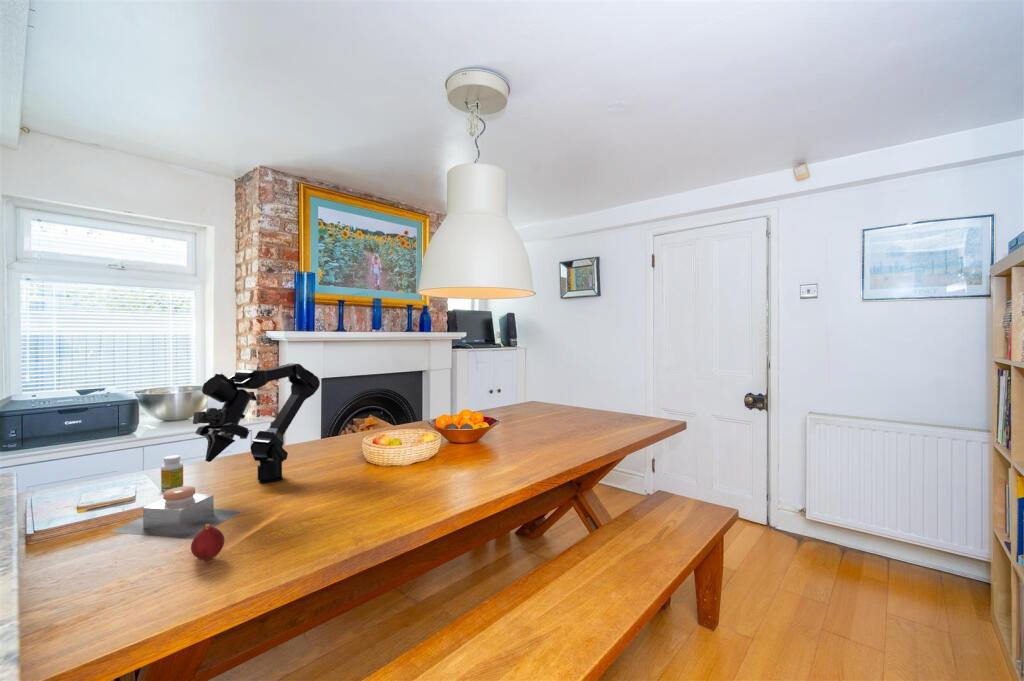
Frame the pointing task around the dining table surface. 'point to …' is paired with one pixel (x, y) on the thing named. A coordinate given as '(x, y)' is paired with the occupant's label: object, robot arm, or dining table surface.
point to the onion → (207, 543)
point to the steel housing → (178, 513)
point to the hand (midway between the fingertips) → (207, 461)
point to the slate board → (186, 533)
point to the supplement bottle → (171, 473)
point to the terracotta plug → (179, 495)
